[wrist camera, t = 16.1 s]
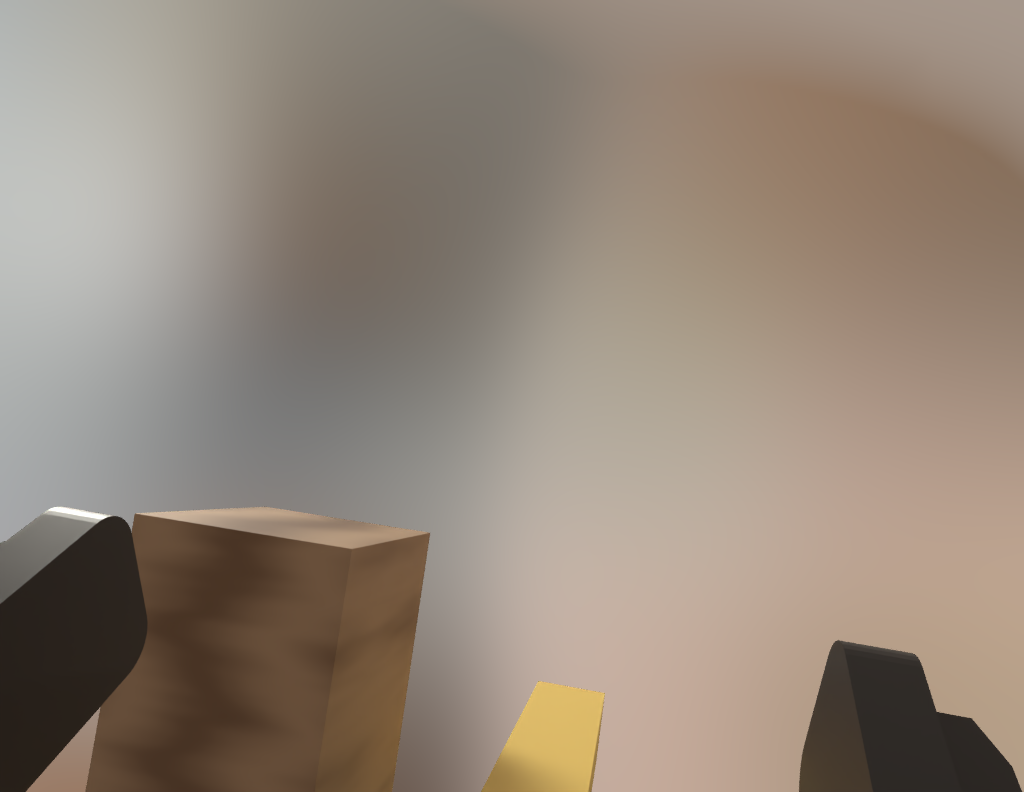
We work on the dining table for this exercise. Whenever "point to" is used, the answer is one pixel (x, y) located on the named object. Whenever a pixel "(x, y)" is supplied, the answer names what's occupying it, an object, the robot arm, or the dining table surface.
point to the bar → (551, 743)
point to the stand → (264, 655)
